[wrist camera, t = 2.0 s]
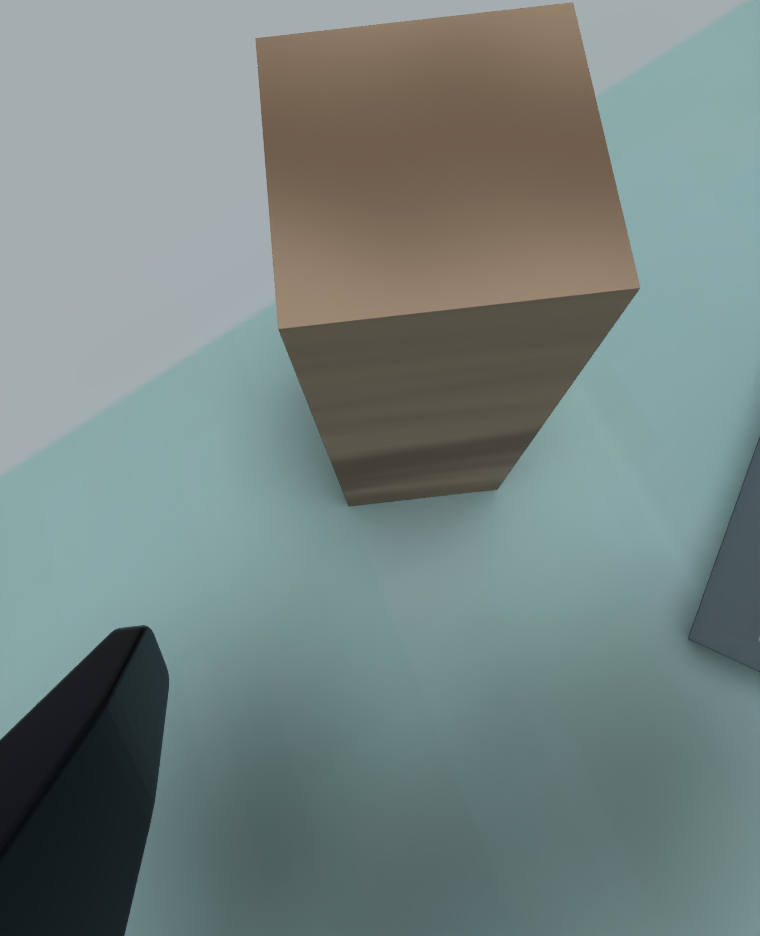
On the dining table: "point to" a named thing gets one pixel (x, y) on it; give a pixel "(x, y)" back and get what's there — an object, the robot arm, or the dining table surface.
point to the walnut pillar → (439, 239)
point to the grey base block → (736, 582)
